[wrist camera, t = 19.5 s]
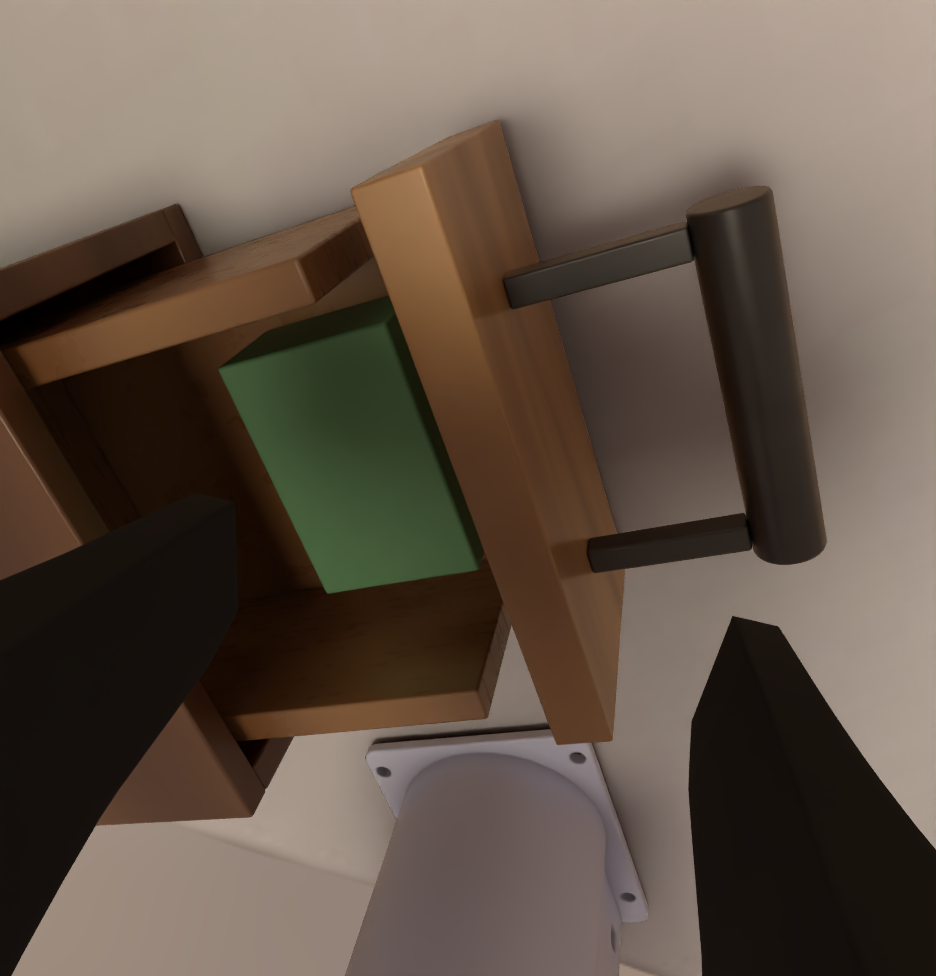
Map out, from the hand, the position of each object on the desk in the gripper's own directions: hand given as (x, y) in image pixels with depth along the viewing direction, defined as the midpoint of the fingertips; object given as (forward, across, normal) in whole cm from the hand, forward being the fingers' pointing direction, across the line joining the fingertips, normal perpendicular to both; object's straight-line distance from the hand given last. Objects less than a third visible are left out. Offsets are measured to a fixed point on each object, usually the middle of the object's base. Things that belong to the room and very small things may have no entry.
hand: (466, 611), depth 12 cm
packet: (+8, +4, +2) cm, 9 cm away
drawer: (+9, +3, +2) cm, 10 cm away
